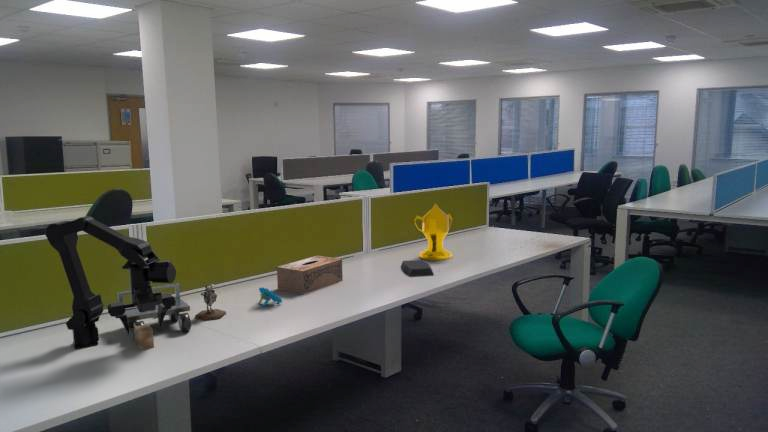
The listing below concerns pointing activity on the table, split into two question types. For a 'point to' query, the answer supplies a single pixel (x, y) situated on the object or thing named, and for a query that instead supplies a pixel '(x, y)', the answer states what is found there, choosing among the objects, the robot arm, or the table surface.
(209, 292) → the robot figurine
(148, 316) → the trolley
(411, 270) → the external hard drive
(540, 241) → the table surface
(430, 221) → the trophy cup
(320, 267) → the tissue box cover
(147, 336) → the block
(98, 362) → the table surface
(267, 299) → the blue irregular piece
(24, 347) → the table surface
